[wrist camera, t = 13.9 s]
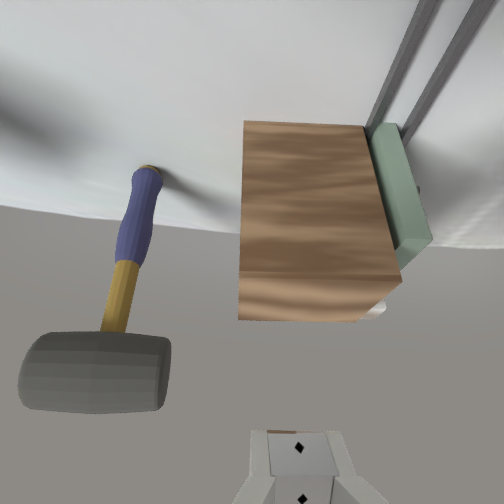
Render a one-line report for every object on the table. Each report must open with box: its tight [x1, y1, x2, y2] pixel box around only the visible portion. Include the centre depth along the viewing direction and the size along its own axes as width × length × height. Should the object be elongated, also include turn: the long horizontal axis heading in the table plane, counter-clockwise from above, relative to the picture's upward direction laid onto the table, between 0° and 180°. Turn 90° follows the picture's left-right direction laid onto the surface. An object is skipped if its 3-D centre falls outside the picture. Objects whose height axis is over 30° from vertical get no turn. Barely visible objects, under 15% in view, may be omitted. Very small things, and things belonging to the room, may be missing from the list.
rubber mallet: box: [18, 166, 171, 414], centre depth 36 cm, size 12×8×30 cm, turn 81°
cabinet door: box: [368, 122, 433, 270], centre depth 39 cm, size 15×4×16 cm, turn 177°
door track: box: [364, 0, 494, 147], centre depth 35 cm, size 30×5×1 cm, turn 177°
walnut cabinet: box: [238, 121, 402, 322], centre depth 38 cm, size 16×18×20 cm
